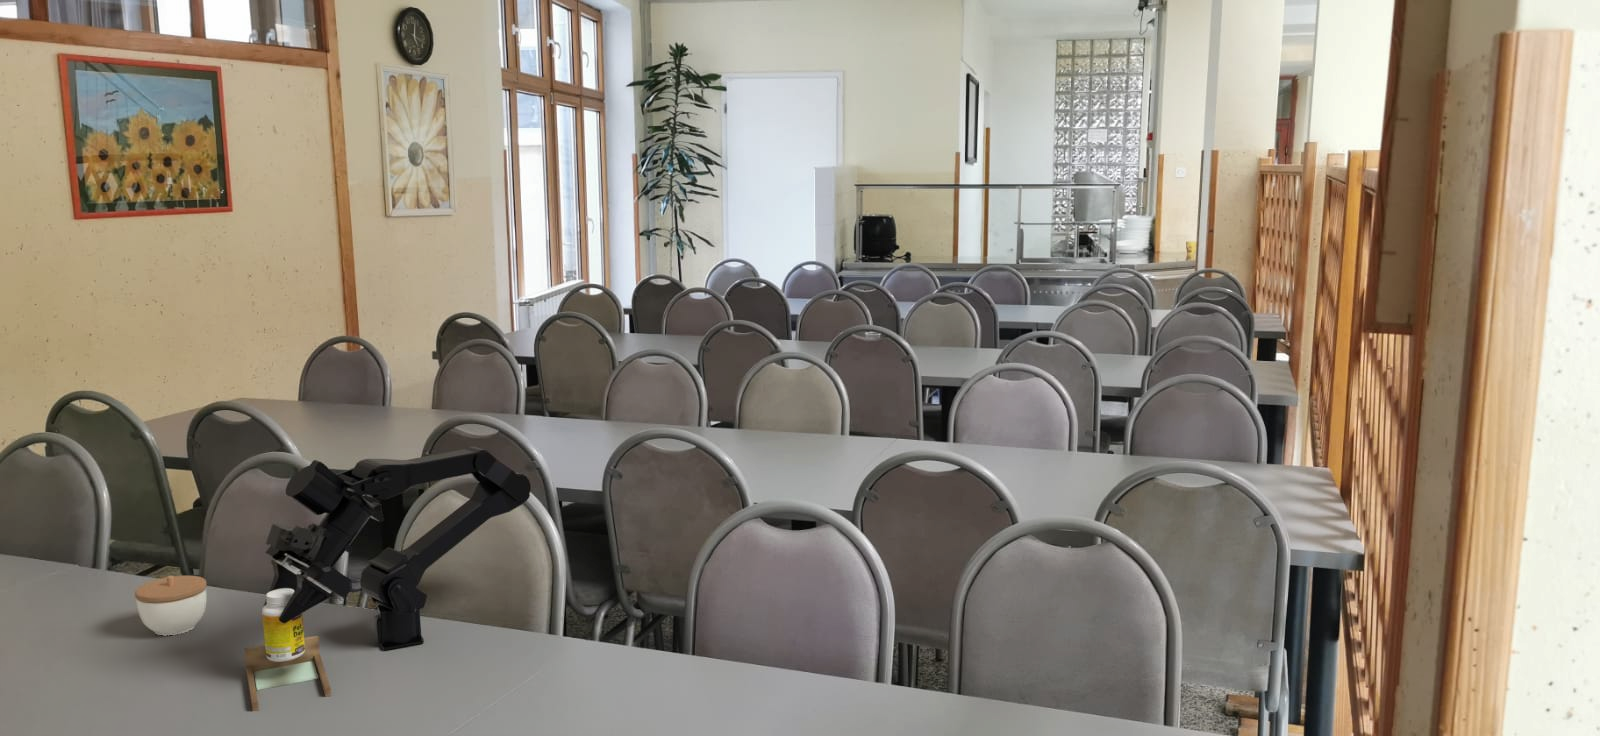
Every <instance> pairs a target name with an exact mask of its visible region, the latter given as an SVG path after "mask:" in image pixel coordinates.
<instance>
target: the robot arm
mask: <svg viewBox="0 0 1600 736" xmlns="http://www.w3.org/2000/svg"><path fill="white" fill-rule="evenodd" d="M465 475H471V476H472V477H473V478H474V480H475V481H477V482H478V484H477V485H476V487H475V490H474V492H473V494H472V496H471V497H470V498H469V499H468V500H467V501H466V502H465V503H463V504H462V505H460V507H458V508H457V509H455V510H454V511H453V512H451V513H450V514H449V515H448V516H447V517H445V518H444V519H443V520H441V521H440V522H439V523H437V524H436V525H435V526H434V527H432V528H431V529H430V530H428V531H427V532H426V533H425V534H423V535H422V536H421V537H419V538H418V539H417V540H416V541H414V542H413V543H411V544H410V545H409V546H408V547H405V549H403V550H399V551H398V550H397V549H394V548H391V547H386V548H385V549H383V550H382V551H381V552H380V553H379V554H378V555H377V556H376V557H374V558H373V559H370V560H367V563H368V565H367V566H366V567H365V568H364V569H363V570H362V572H361V576H360V577H361V578H360V588H361V591H362V592H363V593H364V594H365V595H367V596H369V597H370V599H371V601H372V603H373V604H377V605H376V606H377V614H375V615H374V616H373V618H374V633H375V640H376V642H377V644H379V645H380V647H381V649H382V650H383V651H388V650H393V649H394V650H395V649H398V648H404V647H409V646H410V647H411V646H414V645H415V646H416V645H420V644H423V643H425V639H424V637H423V636H422V626H421V625H422V624H421V609H424V608H425V605H426V601H427V594H426V593H424V592H423V591H422V590H420V589H419V588H417V587H418V586H419V584H420V583H421V580H422V578H423V576H424V573H425V572H426V570H428V568H430V567H431V566H432V565H433V564H435V563H436V562H437V561H439V560H440V559H442V557H444V556H445V555H446V554H447V553H448V552H450V551H452V550H453V549H454V548H455V547H456V546H457V545H459V544H460V543H461V542H462V541H463V540H465V539H466V538H467V537H468V536H470V535H471V534H472V533H473V532H475V531H476V530H478V529H479V528H480V527H481V526H483V525H484V524H485V523H486V522H487V521H489V520H490V519H491V518H494V517H499V516H501V515H505V514H507V513H510V512H512V511H514V510H516V509H517V508H519V507H520V506H522V505H524V504H525V503H526V502H527V501H528V500H529V499H530V497H531V494H530V493H531V482H530V479H529V478H528V477H527V476H526V475H524V473H523V474H522V473H519V472H517V471H516V472H515V471H514V470H512V469H511V468H510V467H508V466H507V465H505V464H504V463H502V462H501V461H500V460H498V459H497V458H496V457H495V456H493V455H492V453H491V452H489V451H488V450H486V449H483V448H479V447H477V446H469V447H466V448H464V449H458V450H452V451H448V452H447V451H446V452H443V453H442V452H441V453H436V454H433V455H432V454H431V455H426V456H421V457H415V458H409V459H392V458H391V459H390V458H365V459H361V460H359V461H358V462H356V464H355V466H354V467H353V468H350V469H346V470H344V471H342V472H341V471H340V472H339V473H335V472H333V471H332V470H331V469H330V468H329V467H328V466H327V465H326V464H324V463H323V462H322V461H320V460H316V459H313V460H312V462H311V463H310V464H309V465H307V466H304V467H303V468H301V469H300V470H299V471H297V473H294V474H293V475H292V477H290V479H289V481H288V482H287V485H286V488H285V494H286V496H287V497H289V498H291V499H292V500H293V501H295V502H296V503H298V504H299V505H301V506H302V507H303V508H305V509H306V510H308V511H309V512H311V513H312V514H313V515H315V516H320V515H323V514H325V515H324V516H323V518H322V519H321V521H319V523H318V524H316V523H313V522H312V524H309V525H308V526H307V527H301V526H299V525H296V526H295V527H292V526H287V525H282V524H278V523H272V525H271V527H270V530H269V533H268V535H267V538H266V541H265V544H266V545H268V546H269V545H270V546H269V547H268V548H267V550H266V551H265V552H264V553H265V554H266V555H267V556H269V557H270V558H272V559H271V560H270V564H271V565H272V568H273V573H274V574H273V575H274V576H273V579H272V582H271V586H270V588H269V591H268V593H269V592H270V591H273V590H276V589H282V588H290V589H293V590H294V593H293V595H292V597H291V598H290V600H289V602H288V603H287V605H286V607H285V608H284V610H283V612H282V614H281V615H280V617H279V621H281V622H282V623H286V622H288V621H290V620H291V619H293V618H295V617H296V616H298V615H300V614H301V613H302V614H303V613H305V612H306V611H308V610H310V609H311V608H313V607H315V606H317V605H319V604H321V603H322V602H325V601H326V600H329V599H333V598H334V597H335V595H337V596H339V597H341V598H342V599H344V600H345V599H346V598H347V596H348V595H349V593H350V592H351V591H352V589H353V584H352V583H353V582H352V579H350V578H349V577H347V576H346V575H344V574H343V573H341V572H340V571H338V570H337V568H335V566H336V564H338V563H337V562H338V561H339V560H340V559H341V557H342V556H343V555H344V553H345V552H346V553H348V554H351V552H352V551H353V550H354V546H351V544H352V542H353V541H354V539H355V538H356V537H357V536H358V534H359V533H360V532H361V530H362V529H363V527H364V526H365V525H366V523H367V522H368V521H369V519H373V520H375V521H377V522H380V523H382V522H384V521H385V518H384V514H383V511H382V510H383V509H382V507H383V505H382V504H380V503H378V502H374V501H373V502H370V501H367V500H366V499H365V498H364V497H362V496H367V497H369V498H373V499H375V500H379V501H384V500H388V499H390V498H394V497H396V496H399V495H401V494H403V493H405V492H407V491H408V490H409V489H411V488H412V487H414V486H417V485H422V484H427V483H430V482H436V481H440V480H445V479H451V478H456V477H461V476H465ZM346 491H350V492H352V493H355V494H356V495H352V496H350V495H349V494H348V493H346ZM304 575H306V576H307V577H305V576H304ZM332 592H333V593H334V594H335V595H333V594H332ZM266 601H267V598H266V599H265V601H264V603H263V607H264V606H265V605H267V602H266ZM263 607H262V608H263Z"/></svg>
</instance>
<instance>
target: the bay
mask: <svg viewBox="0 0 1600 736" xmlns="http://www.w3.org/2000/svg"><path fill="white" fill-rule="evenodd" d="M304 641H305V652H304V653H303V654H302V655H301V656H300V657H298V658H296V659H293V660H289V661H282V662H275V661H271V660H269V659H268V658H267V656H266V648H265V644H261V645H256V646H255V645H254V646H250V647H245V648H244V659H245V667H246V668H245V669H246V671H245V672H246V677H247V678H246V679H247V684H248V689H249V697H250V702H251V708H252V712H256V711H259V710H260V708H259V700H258V693H257V691H261V690H266V689H271V688H276V687H280V686H287V685H291V684H296V683H302V682H307V681H312V680H313V681H314V680H317V679H319V680H320V683H321V686H322V690H323V694H324V696H325V697H327V698H328V697H330V696H331V697H332V689H331V685H330V682H329V679H328V676H327V672H326V670H325V667H324V663H323V659H322V656H321V655H320V639H319V635H314V636H313V635H312V636H308V637H307V636H306V637H304Z"/></svg>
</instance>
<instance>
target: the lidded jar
mask: <svg viewBox="0 0 1600 736" xmlns="http://www.w3.org/2000/svg"><path fill="white" fill-rule="evenodd" d="M134 597H135V601H136V607H137V612H138V615H139V617H140V620H141V622H142V623H143V624H144V625H145V626H146V628H148V629H149V630H151V631H152V632H154V634H155V635H156V634H157V636H159V635H163V636H162V637H170V636H169V635H173V636H178V635H181V633H182V634H185V632H186V633H188V632H190V631H192V630H194V629H195V627H196V625H197V623H199V621H200V620H201V619H202V617H203V615H204V614H205V611H206V608H207V597H208V596H207V580H206V579H205V578H203V577H201V576H198V575H176V576H175V575H168V576H166V577H162V578H159V579H154V580H151V581H148V582H145V583H144V584H141V585H140V586H138V587H137V588H136V589H135V590H134ZM189 630H190V631H189ZM177 634H178V635H177ZM167 635H168V636H167Z"/></svg>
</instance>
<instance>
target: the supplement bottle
mask: <svg viewBox="0 0 1600 736" xmlns="http://www.w3.org/2000/svg"><path fill="white" fill-rule="evenodd" d="M293 593H294V590H293V589H290V588H282V589H276V590H273V591H270V592H269V591H268V592H267V593H266V595H265V597H266V598H267V601H266V600H265V601H266V602H267V605H265V606H264V605H263V606H264V607H262V609H261V615H262V617H261V618H262V626H263V627H262V628H263V637H264V645H265V648H266V656H267V658H268V659H269V660H271V661H275V662H282V661H289V660H293V659H296V658H298V657H300V656H301V655H302V654H303V653H304V652H305V641H304V638H305V630H304V621H303V613H301V614H300V615H298V616H296V617H295V618H293V619H291V620H290V621H288V622H286V623H282V622H281V621H279V617H280V615H281V614H282V612H283V610H284V608H285V607H286V605H287V603H288V602H289V600H290V598H291V597H292V595H293Z"/></svg>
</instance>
